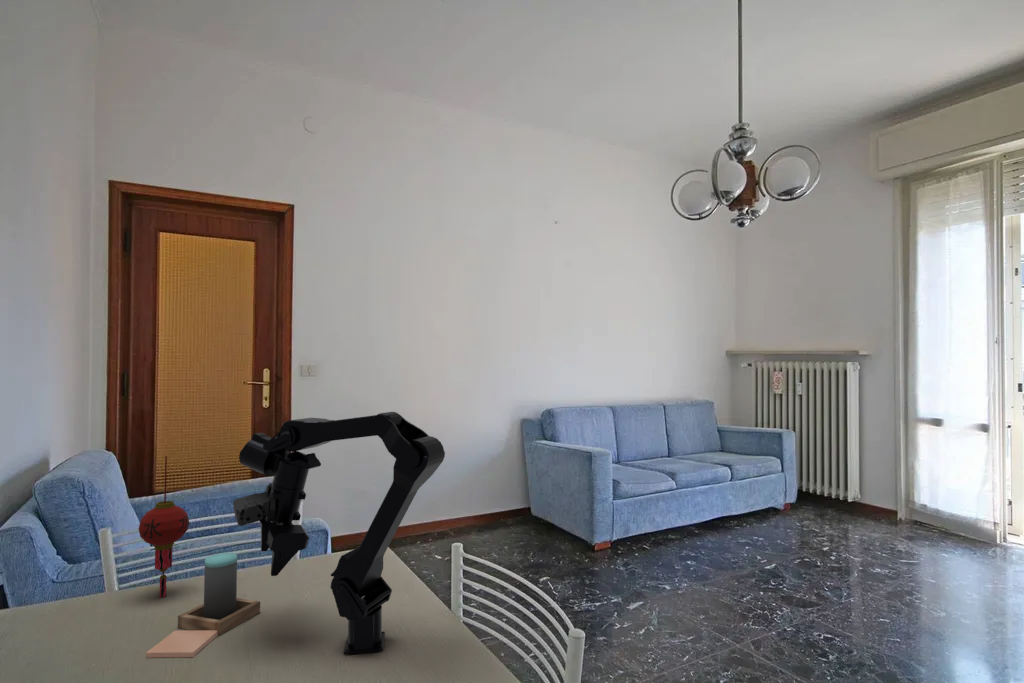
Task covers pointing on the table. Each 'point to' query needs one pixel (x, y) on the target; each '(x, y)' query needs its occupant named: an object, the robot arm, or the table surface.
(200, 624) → the open square brown frame
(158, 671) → the table surface
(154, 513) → the lantern
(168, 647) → the coaster
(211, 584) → the teal-capped grey cylinder
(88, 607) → the table surface
